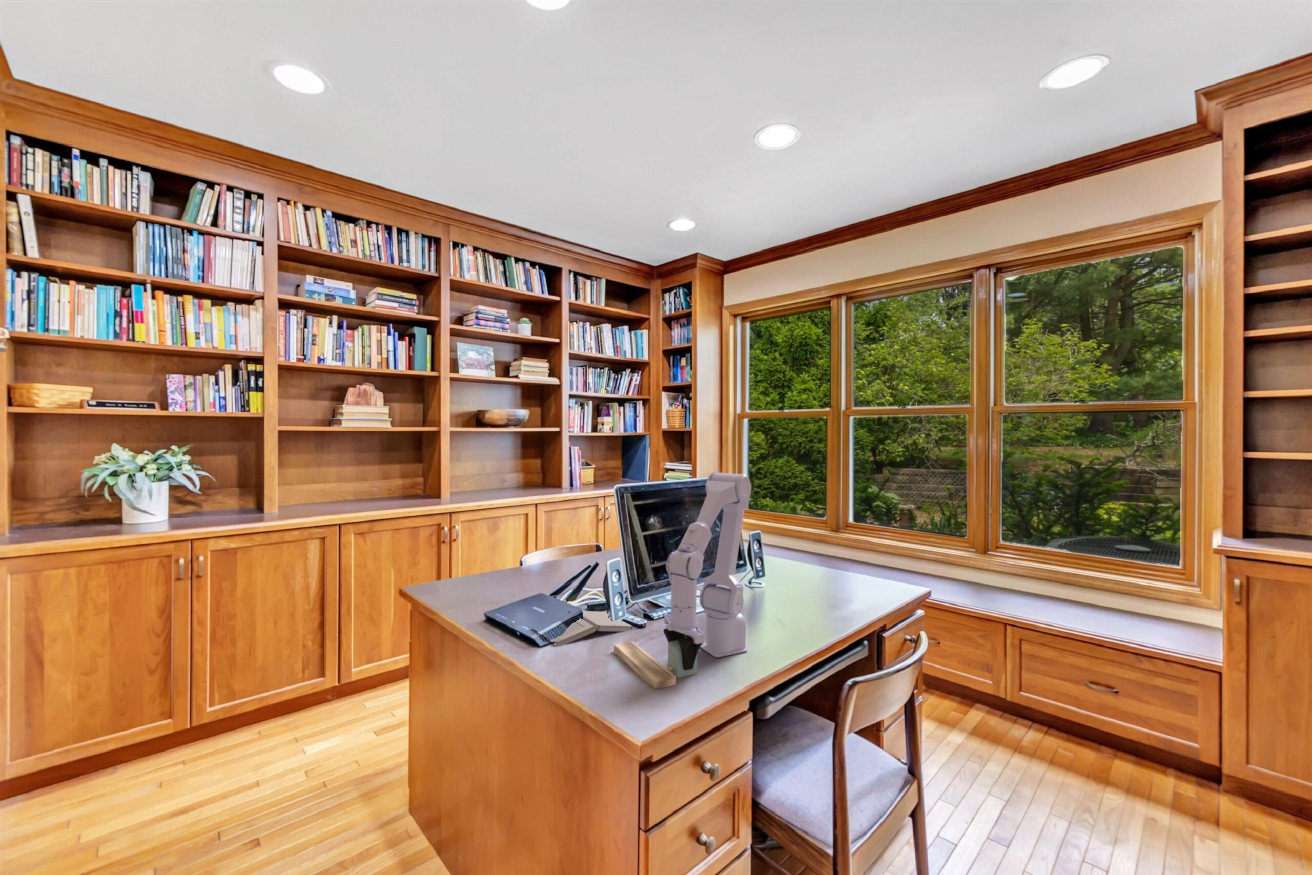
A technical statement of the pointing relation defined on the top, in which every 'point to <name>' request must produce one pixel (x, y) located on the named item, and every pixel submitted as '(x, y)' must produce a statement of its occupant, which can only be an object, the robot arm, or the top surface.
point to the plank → (645, 665)
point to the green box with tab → (678, 661)
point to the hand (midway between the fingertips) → (682, 664)
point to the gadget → (590, 627)
